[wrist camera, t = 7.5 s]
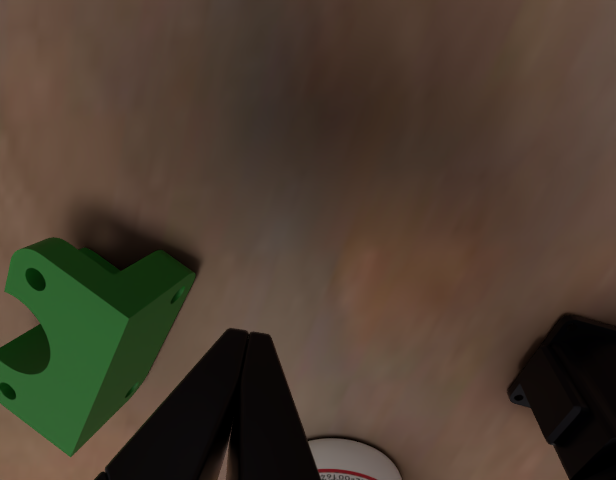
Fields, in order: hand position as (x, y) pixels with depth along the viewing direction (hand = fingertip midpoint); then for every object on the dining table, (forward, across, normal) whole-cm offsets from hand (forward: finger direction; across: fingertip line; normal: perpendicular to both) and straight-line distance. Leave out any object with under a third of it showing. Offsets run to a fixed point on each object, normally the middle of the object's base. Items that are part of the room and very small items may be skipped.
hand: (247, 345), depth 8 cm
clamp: (+13, +8, +12) cm, 19 cm away
